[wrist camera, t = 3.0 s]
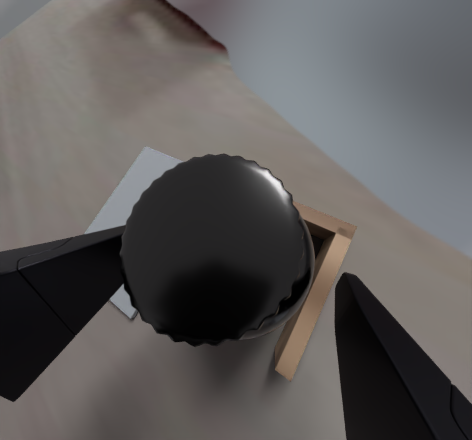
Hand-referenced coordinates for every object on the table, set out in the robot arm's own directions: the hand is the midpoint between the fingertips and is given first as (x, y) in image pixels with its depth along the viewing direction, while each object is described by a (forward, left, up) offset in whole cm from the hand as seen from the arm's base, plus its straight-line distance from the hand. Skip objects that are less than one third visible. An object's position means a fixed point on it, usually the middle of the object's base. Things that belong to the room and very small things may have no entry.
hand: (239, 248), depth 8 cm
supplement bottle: (0, 0, -8) cm, 8 cm away
